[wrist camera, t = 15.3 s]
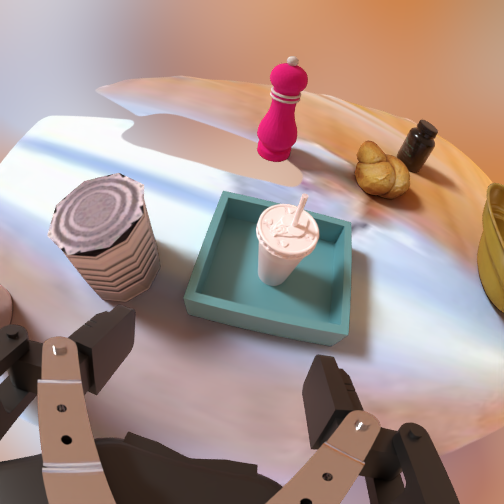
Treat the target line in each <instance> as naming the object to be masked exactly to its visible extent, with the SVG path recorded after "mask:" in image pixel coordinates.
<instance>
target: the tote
mask: <svg viewBox="0 0 504 504" xmlns="http://www.w3.org/2000/svg"><path fill="white" fill-rule="evenodd" d="M278 204H279V203H275V202H271V201H266V200H262V199H258V198H254V197H249V196H245V195H240V194H236V193H231V192H227V191H223V192H222V195H221V197H220V200H219V202H218V205H217V208H216V210H215V213H214V215H213V218H212V220H211V223H210V226H209V228H208V231H207V234H206V236H205V239H204V242H203V244H202V247H201V250H200V252H199V255H198V258H197V261H196V263H195V266H194V269H193V272H192V275H191V277H190V280H189V283H188V286H187V289H186V292H185V295H184V298H183V299H184V302H185V306H186V310H187V313H188V314H189V315H192V316H196V317H200V318H204V319H207V320H211V321H215V322H219V323H223V324H227V325H231V326H235V327H239V328H243V329H248V330H252V331H256V332H261V333H265V334H270V335H274V336H279V337H284V338H289V339H294V340H299V341H304V342H310V343H315V344H321V345H327V346H333V345H334V344H336V343H337V342H339V341H340V340H342V339H343V338H345V337H346V336H348V332H349V318H350V299H351V259H352V245H351V222H347V221H344V220H340V219H337V218H333V217H329V216H326V215H322V214H318V213H314V212H311V211H307V210H305V211H306V212H308V213H309V214H310V215H311V216H312V217H313V218H314V220H315V221H316V223H317V225H318V228H319V239H318V242H317V244H316V247H315V249H314V250H313V251H312V252H311V253H310V254H309V255H307V256H306V257H304V258H303V259H302V260H301V261H300V263H299V264H298V265H297V266H296V268H295V269H294V270H293V271H292V272H291V274H290V275H289V276H288V277H287V278H286V280H285V281H284V282H283V283H282V284H280V285H277V286H270V285H267V284H265V283H263V282H262V281H261V279H260V278H259V275H258V256H259V240H258V238H257V233H256V227H257V223H258V220H259V218H260V215H261V214H262V213H263V212H264V211H265V210H266V209H267V208H269V207H271V206H274V205H278Z"/></svg>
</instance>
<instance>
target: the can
mask: <svg viewBox="0 0 504 504" xmlns="http://www.w3.org/2000/svg"><path fill="white" fill-rule="evenodd" d="M48 237H49V238H50V239H51V240H52V241H53V242H54V243H55V244H56V245H57V246H58V247H59V248H60V249H61V250H62V251H63V252H64V254H65V255H66V256H67V258H68V259H69V260H70V262H71V263H72V264H73V266H74V267H75V268H76V269H77V271H78V272H79V273H80V274H81V276H82V277H83V278H84V279H85V281H86V282H87V283H88V284H89V285H90V286H91V288H92V289H93V290H94V291H95V292H96V293H97V294H98V295H99V296H100V297H101V299H103V300H112V301H121V302H127V301H129V300H131V299H132V298H134V297H136V296H138V295H139V294H141V293H143V292H145V291H146V290H148V289H149V288H150V286H151V284H152V282H153V280H154V278H155V277H156V275H157V273H158V271H159V269H160V261H159V255H158V249H157V244H156V241H155V238H154V234H153V231H152V227H151V223H150V220H149V216H148V212H147V209H146V205H145V201H144V185H143V184H141V183H139V182H137V181H135V180H133V179H131V178H128V177H126V176H124V175H122V174H120V173H117V174H112V175H108V176H104V177H99V178H95V179H91V180H87V181H84V182H83V183H82V184H80V185H79V186H78V187H77V188H76V189H74V190H73V191H72V192H71V193H70V194H69V195H67V196H66V197H65V198H64V199H63V200H62V201H61V202H59V203H58V204H57V205H56V208H55V211H54V214H53V218H52V221H51V225H50V228H49V232H48Z"/></svg>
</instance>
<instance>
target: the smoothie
mask: <svg viewBox="0 0 504 504" xmlns="http://www.w3.org/2000/svg"><path fill="white" fill-rule="evenodd" d="M307 198H308V195H307V194H302V197H301V200H300V202H299V205H298V207H297V206H294V205H289V204H278V205H274V206H271V207H269V208H267V209H266V210H265V211H264V212H263V213H262V214H261V215H260V218H259V220H258V223H257V227H256V233H257V238H258V240H259V256H258V275H259V278H260V279H261V281H262V282H263V283H265V284H267V285H270V286H277V285H280V284H282V283H283V282H284V281H285V280H286V278H287V277H288V276H289V275H290V274H291V272H292V271H293V270H294V269H295V268H296V266H297V265H298V264H299V263H300V261H301V260H302V259H303V258H304V257H306V256H307V255H309V254H310V253H311V252H312V251H313V250H314V249H315V247H316V244H317V242H318V239H319V228H318V225H317V223H316V221H315V220H314V218H313V217H312V216H311V215H310V214H309V213H308V212H306V211H305V210H303V209H304V206H305V204H306V201H307Z"/></svg>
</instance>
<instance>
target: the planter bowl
mask: <svg viewBox="0 0 504 504" xmlns="http://www.w3.org/2000/svg"><path fill="white" fill-rule="evenodd" d="M482 221H483V233H482V236H481V240H480V244H479V248H478V253H477V262H478V270H479V275H480V279H481V282H482V285H483V288H484V290H485V292H486V294H487V296H488V297H489V299H490V300H491V301H492V303H493V304H494V305H495V306H496V307H497V308H498V309H499V310H500V311H502V312H503V313H504V185H501V184H499V183H492V184H490V185H489V186H488V189H487V200H486V203H485V207H484V210H483V220H482Z"/></svg>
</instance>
